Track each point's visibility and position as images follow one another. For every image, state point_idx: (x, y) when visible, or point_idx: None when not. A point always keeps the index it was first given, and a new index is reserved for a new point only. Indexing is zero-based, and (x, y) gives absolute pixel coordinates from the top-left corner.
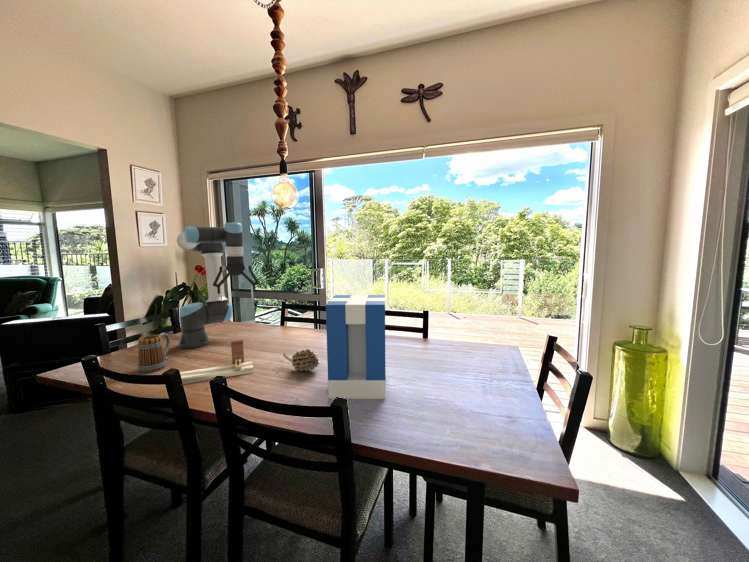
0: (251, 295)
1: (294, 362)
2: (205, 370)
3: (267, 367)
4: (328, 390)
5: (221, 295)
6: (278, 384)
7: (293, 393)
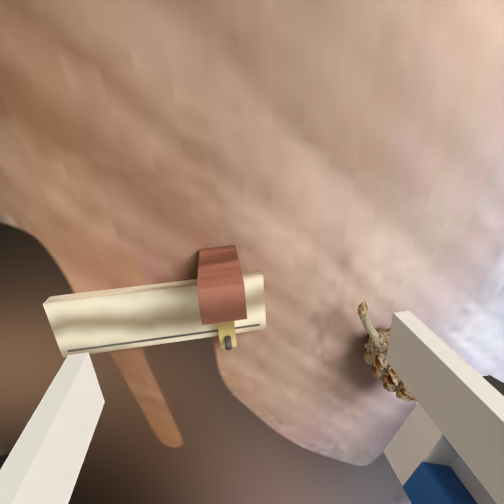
0: (411, 348)
1: (372, 366)
2: (129, 310)
3: (300, 297)
4: (391, 465)
5: (72, 468)
6: (314, 392)
7: (334, 428)
